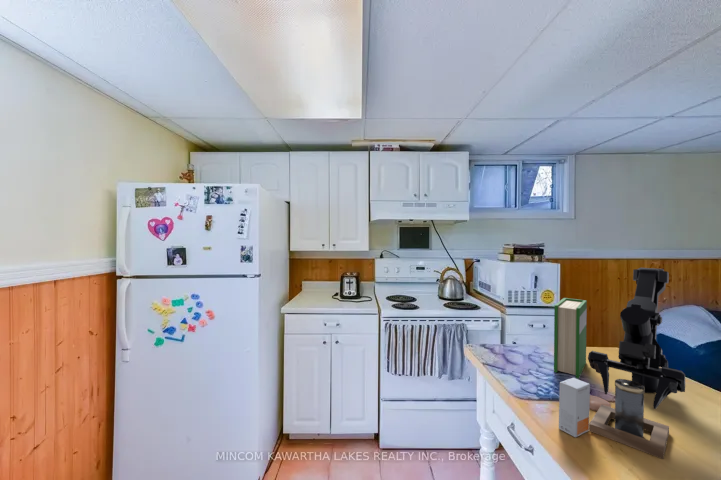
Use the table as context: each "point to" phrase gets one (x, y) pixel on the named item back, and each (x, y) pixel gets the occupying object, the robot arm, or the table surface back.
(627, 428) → the tea tin
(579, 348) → the hardback book
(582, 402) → the skincare box
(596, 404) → the coaster
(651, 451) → the pocket frame
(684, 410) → the table surface
